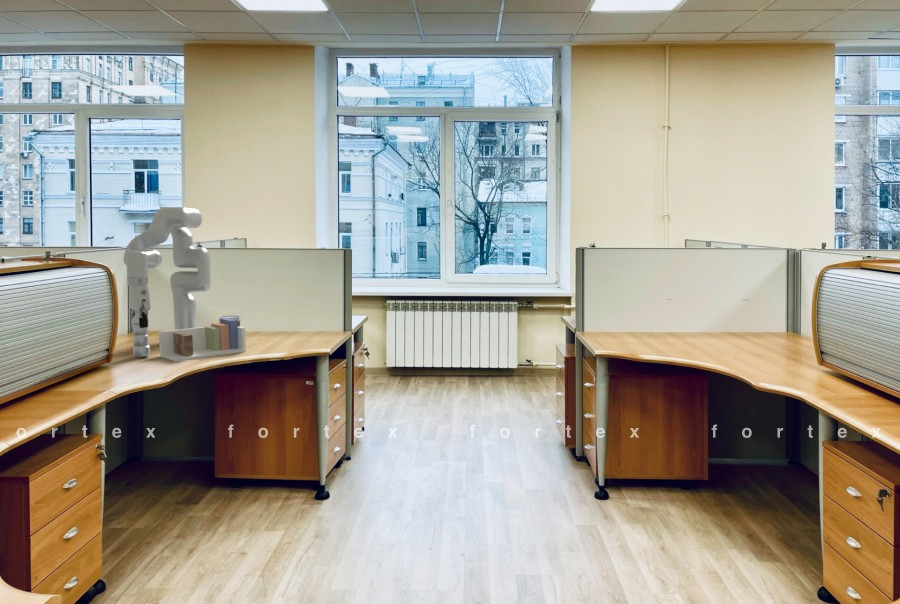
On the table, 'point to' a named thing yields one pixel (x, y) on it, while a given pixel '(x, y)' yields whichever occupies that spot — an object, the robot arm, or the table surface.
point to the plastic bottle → (140, 337)
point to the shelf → (196, 344)
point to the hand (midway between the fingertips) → (140, 326)
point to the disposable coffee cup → (233, 318)
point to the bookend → (183, 343)
